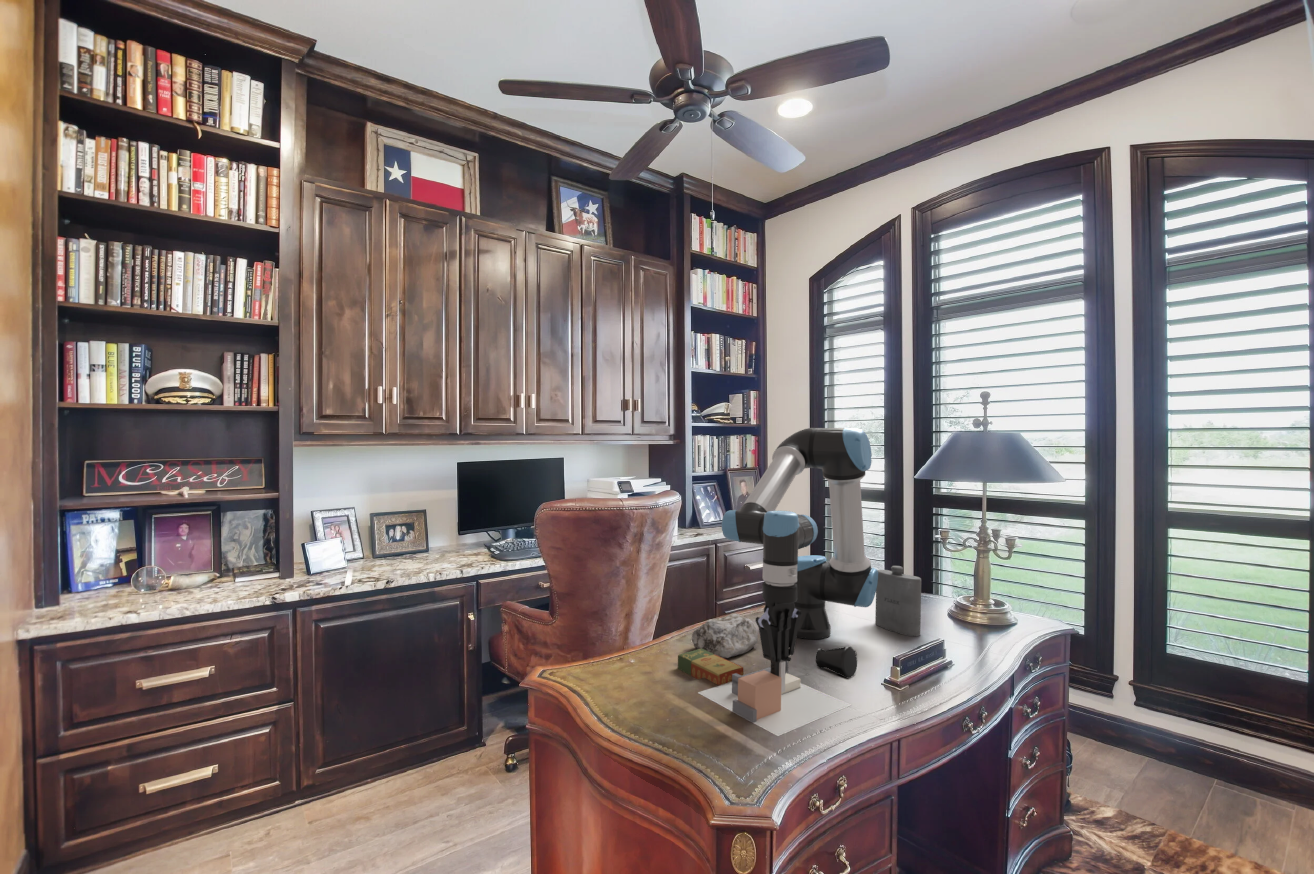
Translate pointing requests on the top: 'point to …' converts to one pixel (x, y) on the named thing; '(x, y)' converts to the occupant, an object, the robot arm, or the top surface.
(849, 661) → the black tapered cylinder
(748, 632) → the decorative stone
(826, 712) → the board
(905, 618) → the flask
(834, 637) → the top surface
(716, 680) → the carton
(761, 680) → the block
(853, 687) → the top surface
